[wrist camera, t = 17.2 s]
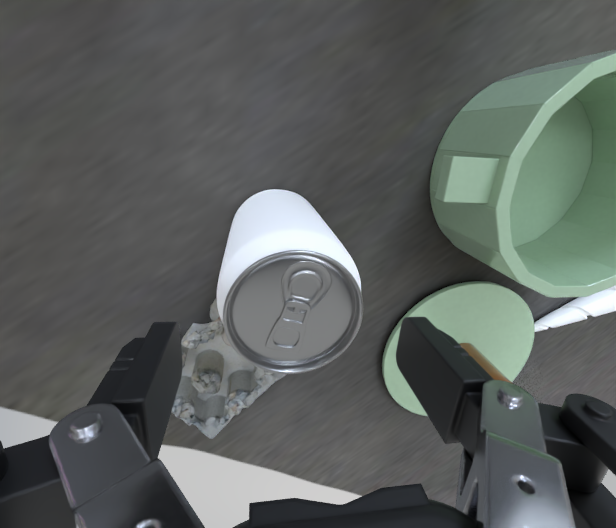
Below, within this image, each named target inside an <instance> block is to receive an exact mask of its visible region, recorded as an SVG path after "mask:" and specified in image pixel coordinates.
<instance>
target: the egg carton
mask: <svg viewBox="0 0 616 528" xmlns="http://www.w3.org/2000/svg"><path fill="white" fill-rule="evenodd" d="M210 308H211V311H210V318H211V320H212V322H210V323H206V324H197V323H193V324H192V325H191V327H190V328H189V330H188V331H187V332H186V334H185V335H184V337H183V338H182V341H181V348H182V360H183V367H182V376H181V381H180V384H179V387H178V391H177V394H176V397H175V401H174V404H173V407H172V411H171V412H172V413H173V414H174V415H175V416H176V417H178V418H181V419H182V420H183V421H184V422H185V423H186V424H187V425H188V426H189V425H196V426H197V427H198V429H199V430H200V431H201V432H202V433H203V434H205V435H206V436H207V437H209V438H210V439H212V438H214V437H215V436H216V435H217V434H218V433H219V432H220V431H221V430H222V429H223V427H224V426H225V425H227V424H228V423H229V421H230V420H231V418H232V417H233V416H234V415H238V414H239V413H240V411H241V409H242V408H244V407H245V408H249V406H250V405H251V404H252V403H253V402H254V401H255V399H256V398H257V397H259V396H260V395H261V394H262V393H264V392H265V391H266V390H267V389H268V388H269V386H270V385H272V384H273V383H275V382H276V381H278V380H279V379H281V378H282V377H284V376H285V375H286V374H279V373H273V372H268V371H265V370H262V369H260V368H257V367H255V366H253V365H251V364H250V363H248V362H247V361H245V360H244V359H243V358H242V357H241V356H239V355H238V353H237V352H236V351H235V350H234V349H233V347H232V346H231V344H230V343H229V341H228V339H227V336H226V334H225V330H224V326H223V323H222V321H221V318H220V316H219V312H218V308H217V298H216V299H215V300H214V302H213V304H212V305H211V306H210Z"/></svg>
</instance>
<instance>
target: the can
mask: <svg viewBox="0 0 616 528" xmlns="http://www.w3.org/2000/svg"><path fill="white" fill-rule="evenodd" d="M217 308H218V312H219V316H220V318H221V321H222V323H223V326H224V330H225V334H226V336H227V339H228V341H229V343H230V344H231V346H232V347H233V349H234V350H235V351H236V352H237V353H238V355H239V356H241V357H242V358H243V359H244V360H245V361H247V362H248V363H250V364H251V365H253V366H255V367H257V368H260V369H262V370H265V371H268V372H273V373H279V374H297V373H303V372H308V371H311V370H314V369H317V368H320V367H322V366H324V365H326V364H328V363H330V362H331V361H333V360H334V359H336V358H337V357H338V356H339V355H341V354H342V353H343V352H344V351H345V350H346V349H347V348H348V346H349V345H350V344H351V343H352V341H353V340H354V338H355V336H356V335H357V332H358V330H359V328H360V325H361V321H362V317H363V299H362V294H361V281H360V276H359V273H358V270H357V268H356V265H355V263H354V261H353V259H352V258H351V256H350V255H349V253H348V252H347V250H346V249H345V247H344V246H343V245H342V243H341V242H340V241H339V240H338V238H337V237H336V236H335V234H334V233H333V232H332V230H331V229H330V228H329V227H328V225H327V224H326V223H325V221H324V220H323V219H322V218H321V216H320V215H319V214H318V213H317V211H316V210H315V209H314V208H313V207H312V205H311V204H310V203H309V202H308V201H307V200H306V199H305V198H303V197H302V196H300V195H299V194H297V193H294V192H291V191H287V190H280V189H270V190H265V191H262V192H259V193H257V194H255V195H253V196H251V197H250V198H248V199H247V200H246V201H245V202H244V203H243V204H242V205H241V206H240V208H239V209H238V211H237V212H236V214H235V216H234V219H233V222H232V225H231V229H230V233H229V237H228V241H227V245H226V249H225V253H224V257H223V261H222V266H221V270H220V274H219V279H218V285H217Z"/></svg>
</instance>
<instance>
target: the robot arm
mask: <svg viewBox="0 0 616 528" xmlns="http://www.w3.org/2000/svg"><path fill="white" fill-rule="evenodd" d="M396 362H397V366H398V368H399V370H400V372H401V373H402V375H403V377H404V378H405V380H406V381H407V383H408V385H409V386H410V388H411V389H412V391H413V393H414V394H415V396H416V397H417V399H418V401H419V402H420V404H421V405H422V407H423V409H424V410H425V412H426V414H427V415H428V417H429V418H430V420H431V422H432V423H433V425H434V426H435V428H436V430H437V431H438V433H439V434H440V436H441V438H442V439H443V441H444V442H445V444H448V443H459V442H461V444H462V445H463V451H462V454H461V461H460V470H459V479H458V488H457V498H456V506H455V508H454V507H451V506H449V505H446V504H444V503H441V502H438V501H434V500H430V499H428V498H427V495H426V493H425V491H424V489H423V487H422V485H421V484H413V485H404V486H395V487H386V488H380V489H378V490H376V491H374V492H371V493H369V494H367V495H365V496H362V497H360V498H358V499H355V500H353V501H351V502H349V503H347V504H343V505H336V504H330V503H323V502H317V501H310V500H304V499H298V498H291V499H282V500H274V501H264V502H256V503H250V505H249V506H250V507H249V510H250V511H249V520H247V521H245V522H243V523H240V524H238V525H237V526H235V527H233V528H616V498H615V497H614V496H613V495H612V494H611V493H610V491H608V489H607V488H606V487H605V486H604V485H603V484H602V483H601V482H602V480H603V478H604V476H605V475H606V473H607V471H608V469H610V470H611V471H612V472H613V473H614V474H615V475H616V409H615V408H613V407H612V406H610V405H609V404H607V403H605V402H603V401H601V400H599V399H596V398H593V397H590V396H587V395H583V394H570V395H568V396H567V397H566V399H565V401H564V403H563V406H562V407H558V406H552V405H546V404H541V403H537V401H536V400H535V399H534V397H533V396H531V395H530V394H529V393H528V392H527V391H525V390H524V389H522V388H520V387H519V386H517V385H514V384H512V383H509V382H506V381H501V380H494V379H493V378H492V377H491V376H490V375H489V374H488V373H487V372H486V371H485V370H484V369H483V368H482V367H481V366H480V365H479V364H478V363H477V362H476V360H475V359H474V358H473V357H472V356H469V353H468V352H467V351H466V350H465V349H464V348H461V345H460V344H459V343H458V342H457V341H456V340H455V339H454V338H453V337H451V336H450V335H448V334H446V333H445V332H443V331H441V330H440V329H437V328H436V327H435V326H434V325H433V324H432V323H431V322H430V321H429V320H428V319H427V318H426V317H405V318H404V319H403V320H402V324H401V329H400V334H399V339H398V344H397V349H396ZM182 367H183V360H182V348H181V337H180V326H179V323H178V322H154V323H153V324H152V326H151V328H150V330H149V332H148V333H147V335H146V337H145V338H135V339H133V340H132V341H131V342H129V343H128V344H127V345H126V346H124V347H123V348H122V349H121V351H120V353H119V354H118V356H117V358H116V359H115V361H114V362H113V364H112V366H111V367H110V370H109V371H108V372H107V374H106V375H105V377H104V379H103V380H102V382H101V383H100V385H99V387H98V388H97V390H96V391H95V393H94V395H93V396H92V398H91V400H90V401H89V403H88V404H87V406H85V407H82V408H80V409H78V410H76V411H74V412H72V413H70V414H68V415H67V416H66V417H64V418H63V419H62V420H60V421H59V422H58V423H57V424H56V426H55V427H54V428H53V430H52V431H51V433H50V435H48V436H45V437H42V438H39V439H36V440H32V441H29V442H25V443H22V444H18V445H15V446H12V447H8V448H5V449H3V446H2V443H1V441H0V528H205V527H204V526H203V524H202V522H201V521H200V519H199V518H198V516H197V515H196V513H195V512H194V510H193V509H192V507H191V506H190V504H189V502H188V501H187V500H186V498H185V496H184V495H183V493H182V492H181V490H180V489H179V487H178V486H177V484H176V482H175V481H174V480H173V478H172V477H171V475H170V473H169V472H168V470H167V469H166V467H165V466H164V464H163V463H162V461H161V460H159V459H158V454H159V451H160V448H161V444H162V441H163V438H164V434H165V431H166V428H167V424H168V421H169V417H170V414H171V411H172V407H173V404H174V401H175V397H176V394H177V391H178V387H179V384H180V381H181V376H182Z"/></svg>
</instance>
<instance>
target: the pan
mask: <svg viewBox="0 0 616 528" xmlns="http://www.w3.org/2000/svg"><path fill="white" fill-rule="evenodd" d="M430 199H431V206H432V210H433V214H434V217H435V219H436V221H437V224H438V226H439V227H440V229H441V231H442V232H443V234H444V235H445V236H446V237H447V238H448V239H449V240H450V241H451V242H452V243H453V245H454V246H455V247H457V248H458V249H460V250H462V251H464V252H465V253H467V254H469V255H471V256H473V257H474V258H476V259H478V260H480V261H481V262H483V263H485V264H487V265H488V266H490V267H492V268H494V269H495V270H497V271H499V272H501V273H502V274H504V275H506V276H508V277H509V278H511V279H513V280H515V281H517V282H518V283H520V284H522V285H524V286H526V287H528V288H530V289H533V290H535V291H537V292H539V293H541V294H543V295H545V296H547V297H550V298H552V297H587V296H590V295H592V294H595V293H598V292H600V291H603V290H605V289H608V288H611V287H613V286H616V49H615V50H610V51H606V52H602V53H597V54H593V55H588V56H584V57H580V58H575V59H571V60H567V61H562V62H558V63H554V64H549V65H545V66H541V67H536V68H532V69H529V70H526V71H523V72H521V73H518V74H515V75H511V76H508V77H505V78H503V79H501V80H499V81H497V82H494V83H493V84H491V85H490V86H488V87H486V88H485V89H483V90H482V91H481V92H479V93H478V94H477V95H476V96H474V97H473V98H472V99H471V100H470V101H469V102H468V103H467V104H466V105H465V106H464V107H463V108H462V109H461V111H460V112H459V113H458V114H457V116H456V117H455V118H454V119H453V121H452V122H451V124H450V125H449V127H448V129H447V130H446V132H445V134H444V136H443V138H442V140H441V142H440V144H439V147H438V149H437V152H436V155H435V158H434V162H433V166H432V170H431V178H430Z"/></svg>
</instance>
